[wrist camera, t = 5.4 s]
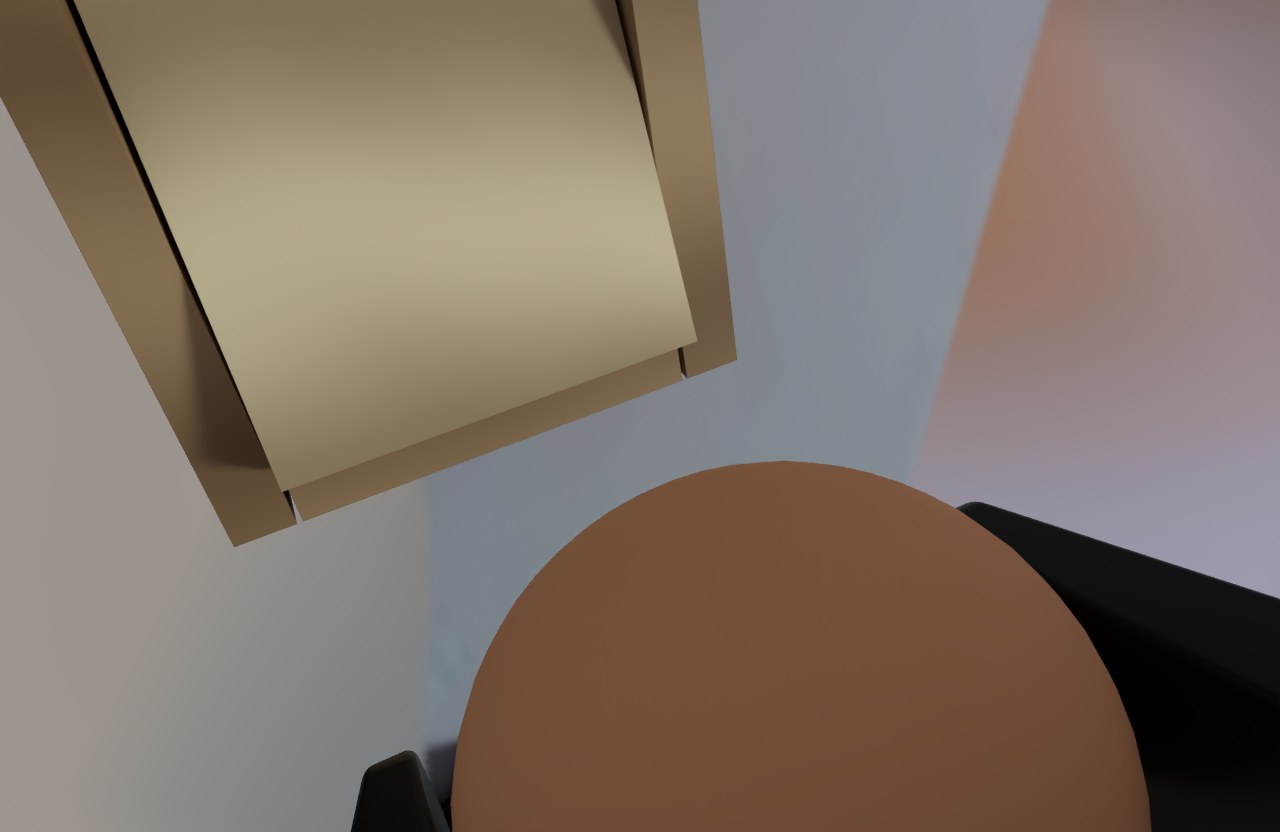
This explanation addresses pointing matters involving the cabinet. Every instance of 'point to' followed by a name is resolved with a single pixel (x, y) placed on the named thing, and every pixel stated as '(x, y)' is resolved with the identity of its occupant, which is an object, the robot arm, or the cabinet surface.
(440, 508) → the cabinet surface
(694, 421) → the cabinet surface
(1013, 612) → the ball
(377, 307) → the wooden tray
